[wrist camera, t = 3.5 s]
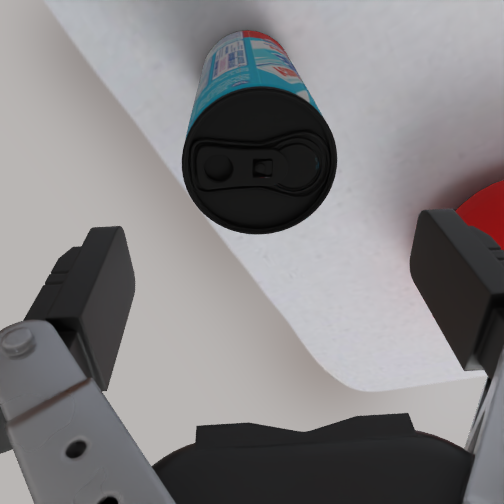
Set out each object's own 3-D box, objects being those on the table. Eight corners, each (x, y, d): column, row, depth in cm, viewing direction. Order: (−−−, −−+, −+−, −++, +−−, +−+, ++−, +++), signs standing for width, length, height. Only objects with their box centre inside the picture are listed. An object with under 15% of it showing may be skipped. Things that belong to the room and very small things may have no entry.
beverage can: (280, 129, 31) (313, 244, 19) (197, 113, 30) (173, 223, 18) (301, 39, 28) (359, 105, 15) (209, 19, 27) (191, 72, 14)
